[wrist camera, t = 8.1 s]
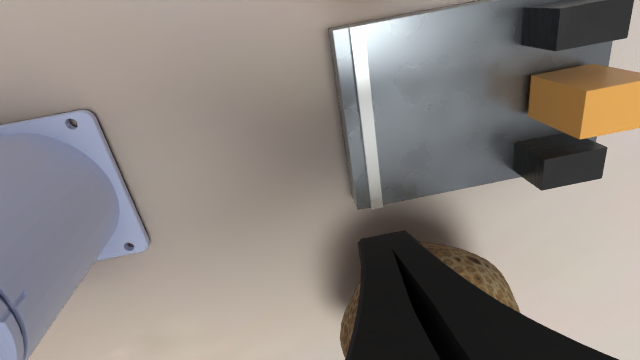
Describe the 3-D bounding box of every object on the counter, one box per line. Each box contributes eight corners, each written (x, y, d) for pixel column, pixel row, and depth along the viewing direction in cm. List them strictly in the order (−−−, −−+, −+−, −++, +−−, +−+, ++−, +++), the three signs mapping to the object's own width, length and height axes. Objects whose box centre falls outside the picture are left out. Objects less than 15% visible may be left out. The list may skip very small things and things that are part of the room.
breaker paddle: (528, 116, 19) (579, 139, 16) (531, 75, 18) (586, 91, 15) (586, 104, 19) (649, 125, 16) (592, 63, 18) (660, 76, 15)
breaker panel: (352, 196, 22) (367, 234, 18) (328, 28, 18) (342, 34, 14) (572, 152, 22) (629, 181, 18) (596, -22, 18) (674, -27, 15)
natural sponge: (498, 228, 24) (635, 366, 15) (426, 330, 27) (504, 495, 18) (370, 181, 21) (442, 312, 12) (308, 299, 24) (328, 472, 15)
